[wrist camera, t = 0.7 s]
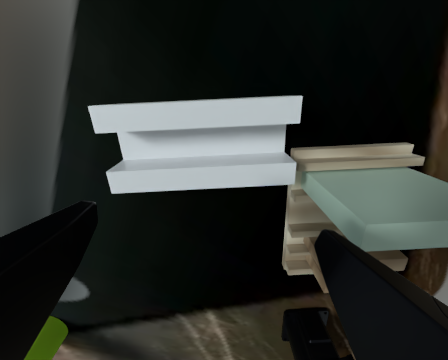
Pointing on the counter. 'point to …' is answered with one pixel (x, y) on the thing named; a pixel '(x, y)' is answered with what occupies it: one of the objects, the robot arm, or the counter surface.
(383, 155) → the birch rack
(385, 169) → the green sheet
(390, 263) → the middle offcut
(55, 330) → the soap dispenser
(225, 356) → the counter surface
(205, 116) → the grey slotted stand
